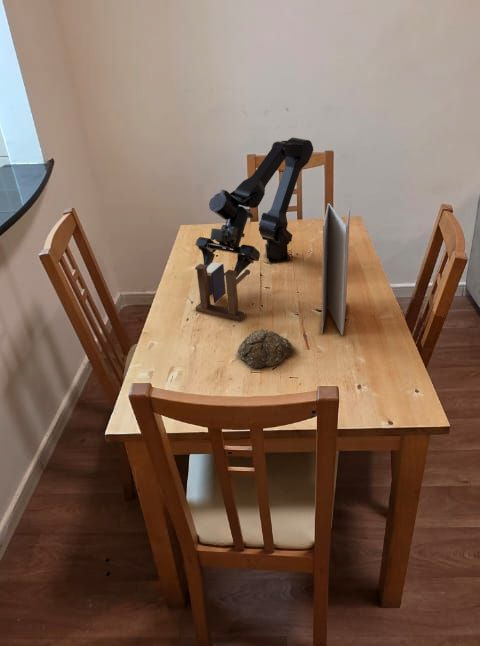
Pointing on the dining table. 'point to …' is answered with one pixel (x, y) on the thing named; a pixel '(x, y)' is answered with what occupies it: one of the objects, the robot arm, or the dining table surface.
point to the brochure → (335, 266)
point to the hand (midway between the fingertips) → (218, 276)
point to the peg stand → (231, 285)
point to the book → (216, 280)
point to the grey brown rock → (264, 349)
